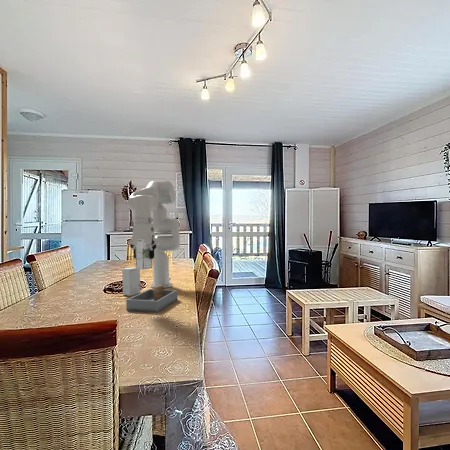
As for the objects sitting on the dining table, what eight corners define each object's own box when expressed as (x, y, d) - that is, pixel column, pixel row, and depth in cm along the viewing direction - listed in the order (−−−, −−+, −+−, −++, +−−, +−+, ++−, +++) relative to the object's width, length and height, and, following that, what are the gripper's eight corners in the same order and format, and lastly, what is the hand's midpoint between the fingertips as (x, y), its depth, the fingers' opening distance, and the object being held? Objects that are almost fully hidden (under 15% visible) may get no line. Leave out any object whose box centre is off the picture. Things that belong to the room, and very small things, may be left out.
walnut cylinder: (156, 298, 166) (156, 285, 166) (165, 298, 165) (165, 285, 164) (151, 300, 161) (151, 287, 161) (160, 301, 160) (160, 287, 160)
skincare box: (130, 296, 176) (129, 269, 176) (122, 295, 179) (121, 268, 179) (141, 292, 183) (140, 267, 183) (133, 291, 186) (132, 266, 186)
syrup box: (145, 267, 156) (144, 237, 156) (153, 268, 153) (152, 237, 152) (135, 268, 152) (134, 238, 152) (142, 269, 148) (141, 238, 148)
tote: (149, 298, 170) (149, 289, 170) (177, 299, 166) (177, 290, 166) (126, 310, 149) (126, 299, 149) (157, 312, 145) (157, 301, 145)
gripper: (163, 220, 153) (164, 257, 153) (131, 221, 158) (132, 257, 158) (155, 221, 146) (156, 259, 146) (122, 221, 150) (123, 259, 151)
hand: (144, 258), depth 152 cm, fingers closed on syrup box, 7 cm apart
